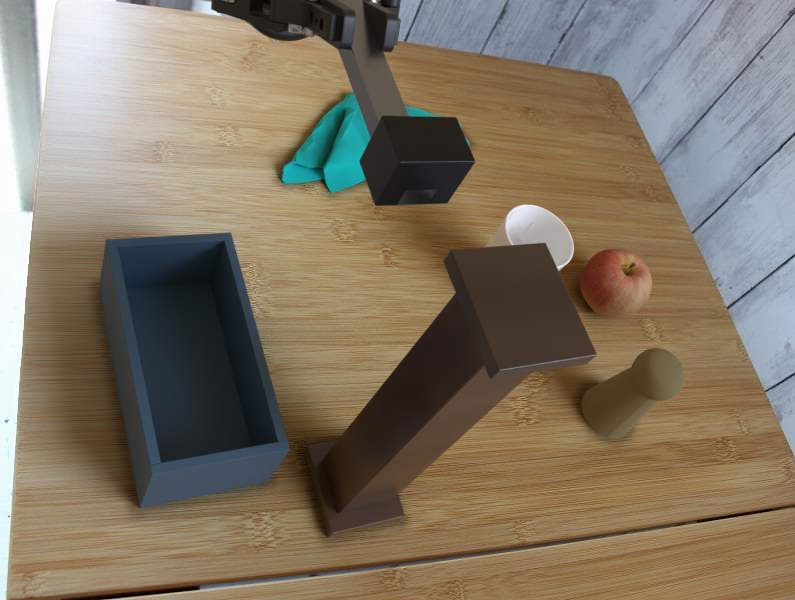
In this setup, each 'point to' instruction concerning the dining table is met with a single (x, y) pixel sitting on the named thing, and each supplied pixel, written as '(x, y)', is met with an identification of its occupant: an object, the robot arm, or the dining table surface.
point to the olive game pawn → (632, 392)
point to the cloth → (336, 148)
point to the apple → (616, 283)
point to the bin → (189, 367)
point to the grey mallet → (400, 130)
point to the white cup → (535, 232)
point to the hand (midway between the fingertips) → (369, 32)
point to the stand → (450, 380)
